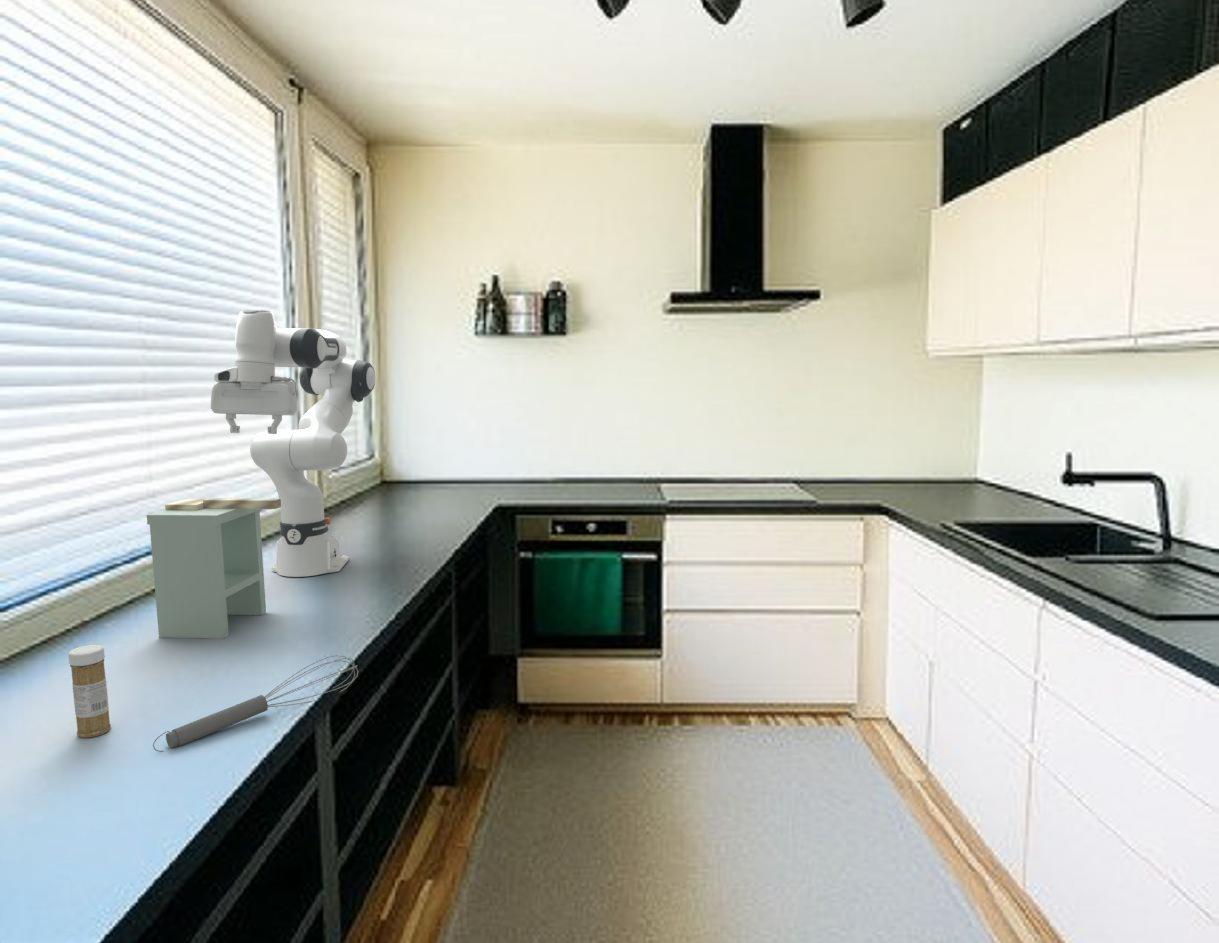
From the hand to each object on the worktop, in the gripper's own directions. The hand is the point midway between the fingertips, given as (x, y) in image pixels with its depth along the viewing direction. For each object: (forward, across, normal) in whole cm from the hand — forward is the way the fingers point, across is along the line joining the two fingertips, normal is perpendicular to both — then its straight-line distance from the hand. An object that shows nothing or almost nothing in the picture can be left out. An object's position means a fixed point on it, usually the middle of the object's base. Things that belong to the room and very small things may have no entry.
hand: (253, 433), depth 195 cm
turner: (+16, -6, +21) cm, 27 cm away
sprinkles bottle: (+49, -14, +69) cm, 86 cm away
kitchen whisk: (+47, -38, +60) cm, 86 cm away
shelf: (+42, -2, +18) cm, 46 cm away
